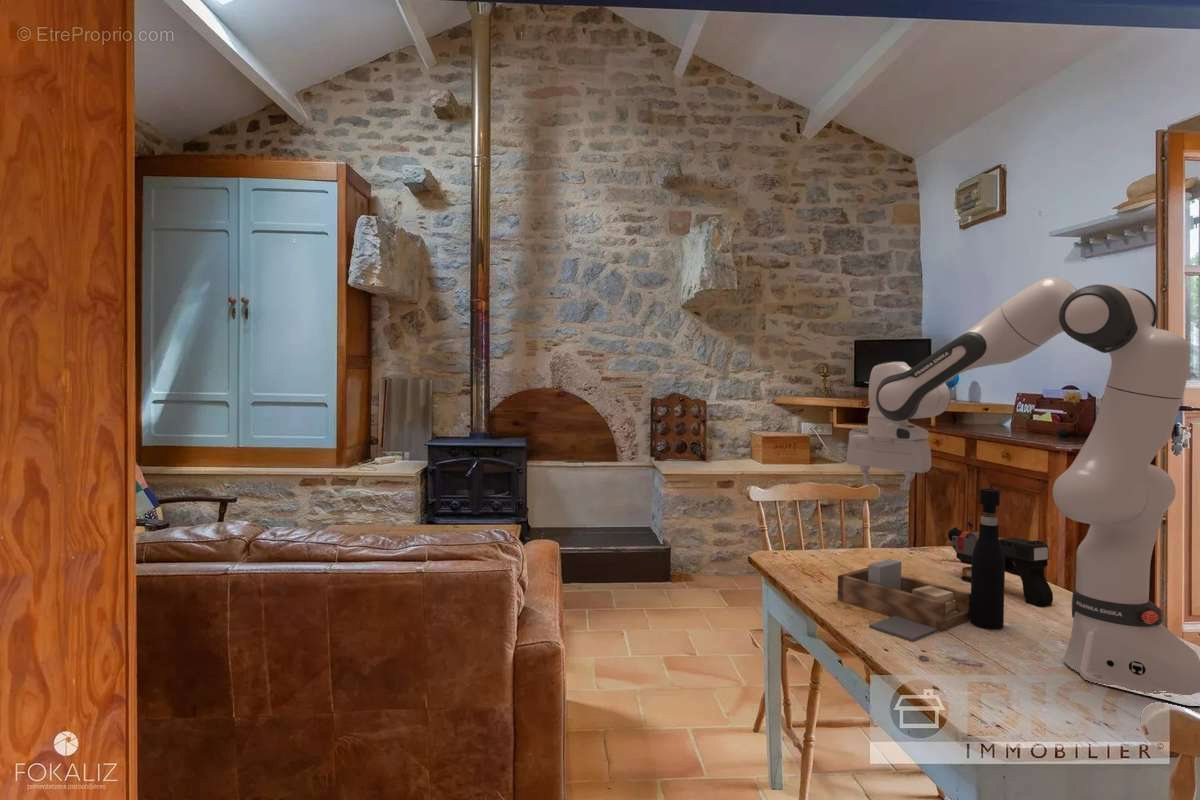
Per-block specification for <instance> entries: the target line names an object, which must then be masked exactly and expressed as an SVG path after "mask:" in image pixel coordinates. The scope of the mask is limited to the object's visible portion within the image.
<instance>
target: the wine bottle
mask: <svg viewBox="0 0 1200 800" xmlns="http://www.w3.org/2000/svg"><path fill="white" fill-rule="evenodd" d="M1000 496H1001V491H1000V490H999V489H996V488H980V489H979V505H981V506H982V512H981V513H982V515H981V516H980V523H979V525H978V526H979V527H978V532H979V537H978V540H977V542H976V544H975V547H974V550H973V555H972V565H971V567H972V568H971V582H970V593H971V614H970V620H969V621H970V623H971V625H972V626H976V627H977V628H980V629H986V630H992V631H993V630H1001V629H1004V622H1005V621H1004V619H1005V618H1004V617H1005V616H1004V615H1005V581H1006V580H1005V578H1006V577H1005V576H1006V572H1005V559H1004V554H1003V549H1002V546H1001V544H1000V541H999V535H1000V533H999V530H1000V529H999V528H1000V527H999V526H1000V525H999V522H998V516H997V509H996V508H997V507H998V506H1000V505H1001V503H1000V501H1001V500H1000V499H1001V497H1000Z"/></svg>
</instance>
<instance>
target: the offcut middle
mask: <svg viewBox="0 0 1200 800" xmlns="http://www.w3.org/2000/svg"><path fill="white" fill-rule="evenodd" d="M955 611H956V600H953V602H949V603H946V614H945V616H947V615H949V614H951V613H953V612H955Z"/></svg>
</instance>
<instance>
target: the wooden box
mask: <svg viewBox="0 0 1200 800" xmlns="http://www.w3.org/2000/svg"><path fill="white" fill-rule="evenodd" d="M925 586H933V587H936V588H939V589H943V590H946V591H950V592H953V600H956V611H957V613H956V614H953V615H950V616H948V617H945V614H946V603H945V602H941V601H937V600H933V599H930V598H926V597H922V596H919V595H915V594H912V589H916V588H921V587H925ZM837 601H839V602H844V603H846V602H847V603H846V604H849V603H850V604H849V605H853V606H856V605H857V606H856V607H859V606H860V608H862V607H863V609H866V610H870V611H873V612H876V613H878V614H882V615H885V616H889V617H893V616H898V617H901V618H904V619H908V620H911V621H914V622H917V623H921V624H924V625H927V626H931V627H934V628H937V629H938V632H944V631H947V630H949V629H951V628H954V627H956V626H959V625H962V624H964V623H966V622H968V621H970V614H971V591H970V592H969V591H965V590H962V589H956V588H953V587H949V586H944V585H942V584H937V583H934V582H933V583H932V582H929V581H925V580H921V579H917V578H915V577H914V578H913V577H911V576H910V577H908V576H905V575H902V574H901V591H900V590H897V589H893V588H889V587H885V586H882V585H878V584H874V583H871V582H868V567H865V568H862V569H858V570H854V571H851V572H847V573H843V574H839V575H837Z"/></svg>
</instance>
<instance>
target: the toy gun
mask: <svg viewBox="0 0 1200 800" xmlns="http://www.w3.org/2000/svg"><path fill="white" fill-rule="evenodd" d="M978 537H979V531H977V532H971V531H965V530H964V531H963V530H960V529H958V527H957V526H954V527H953V528H952V529H950V530H949V531H948V532H947V538H948V540H949V541H950V542H951V543H952V544H951V545H952V549H954V551H955V553H956V559H958V560H960V563H962V564H967V565H971V566H964V567H962V569H961V571H962V572H961V574H962V576H960V580H961V579H962V581H963V580H964V582H968V583H971V568H972V555H973V550H974V547H975V544H976V542H977V540H978ZM999 541H1000V544H1001V546H1002V549H1003V554H1004V559H1005V573H1007V574H1011V575H1015V576H1018V577H1020V580H1021V582H1022V592H1023V597H1024V600H1025V604H1029V605H1031V606H1034V607H1043V606H1044V607H1045V606H1051V605H1053V602H1054V601H1053V600H1054V597H1053V596H1054V594H1053V591H1052V588H1051V587H1050V584H1049V583H1048V581H1047V579H1046V576H1045V570H1044V569H1045V568H1046V567H1047V566H1048V564H1049V563H1048V561H1050V554H1049V553H1050V552H1049V550H1050V549H1049V546H1048V544H1047V543H1046V542H1044V541H1041V540H1030V539H1024V538H1019V537H1007V538H1006V537H1005V538H1004V537H999Z"/></svg>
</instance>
